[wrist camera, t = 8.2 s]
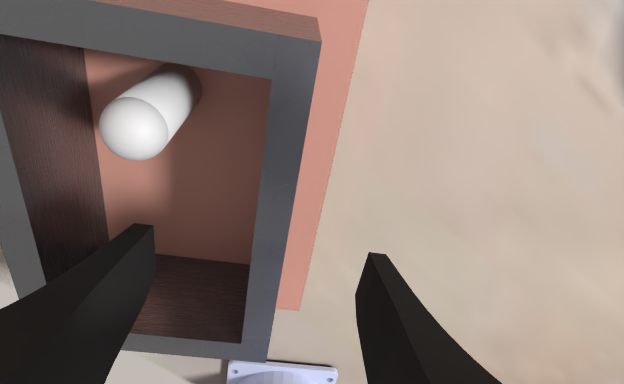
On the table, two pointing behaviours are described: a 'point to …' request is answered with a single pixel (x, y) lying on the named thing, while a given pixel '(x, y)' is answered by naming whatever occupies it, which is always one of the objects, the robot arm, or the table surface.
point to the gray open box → (85, 165)
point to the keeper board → (216, 146)
